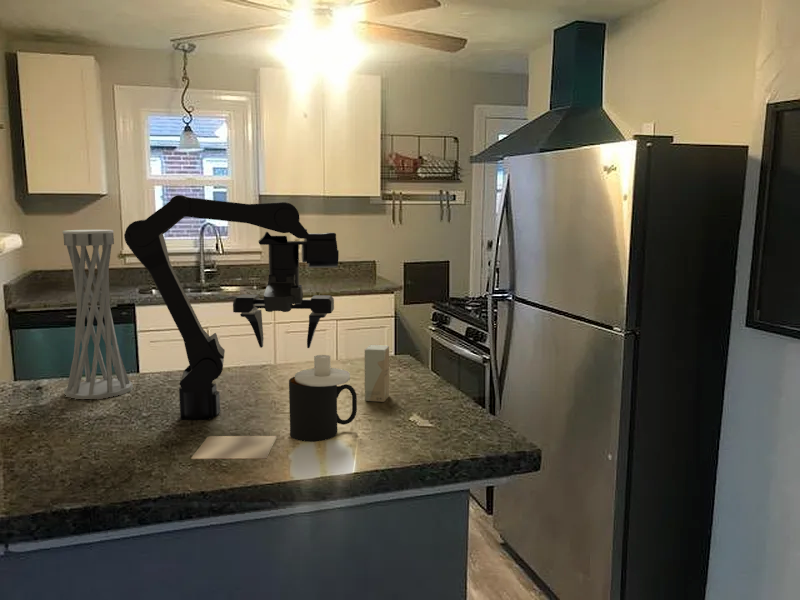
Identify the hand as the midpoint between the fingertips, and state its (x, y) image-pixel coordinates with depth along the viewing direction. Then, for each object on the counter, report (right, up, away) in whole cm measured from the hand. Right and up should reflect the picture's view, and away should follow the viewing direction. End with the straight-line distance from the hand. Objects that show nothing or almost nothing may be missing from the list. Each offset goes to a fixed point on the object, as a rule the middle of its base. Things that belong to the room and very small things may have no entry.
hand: (285, 347), depth 127 cm
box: (+18, -12, +11) cm, 24 cm away
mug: (+9, -15, -11) cm, 21 cm away
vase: (-43, -11, +15) cm, 47 cm away
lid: (+9, -5, -13) cm, 16 cm away
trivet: (-5, -16, -19) cm, 25 cm away
